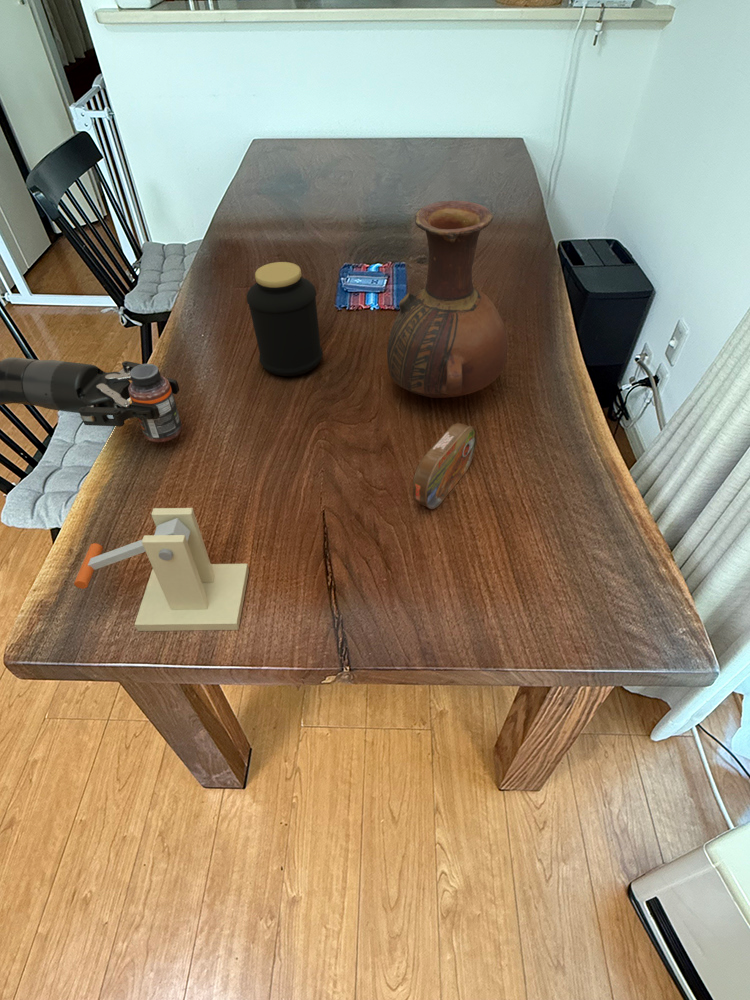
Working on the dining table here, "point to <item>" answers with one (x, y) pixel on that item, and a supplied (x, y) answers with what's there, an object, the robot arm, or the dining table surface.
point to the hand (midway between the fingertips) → (167, 399)
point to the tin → (444, 465)
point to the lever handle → (122, 552)
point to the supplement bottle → (155, 403)
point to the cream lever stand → (188, 582)
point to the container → (285, 319)
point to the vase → (448, 312)
